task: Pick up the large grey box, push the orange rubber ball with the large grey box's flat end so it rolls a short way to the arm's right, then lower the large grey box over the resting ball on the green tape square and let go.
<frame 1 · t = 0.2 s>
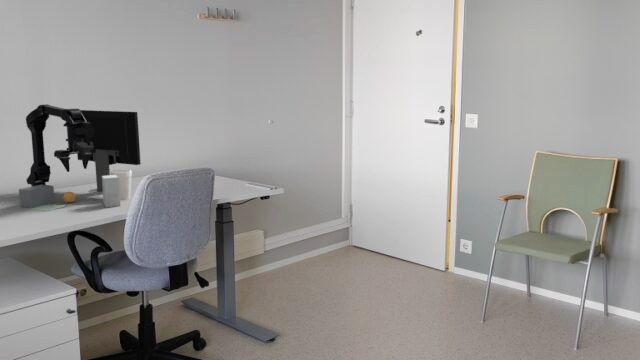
hand: (76, 170, 280), 14 cm above the table, tool pointing down, fingers open, 9 cm apart
large grey box: (37, 204, 276), on the table
tape square: (47, 207, 269), on the table
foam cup: (122, 198, 287), on the table
ball: (69, 197, 279), on the table
computer monitor: (108, 192, 303), on the table
small box: (112, 205, 273), on the table
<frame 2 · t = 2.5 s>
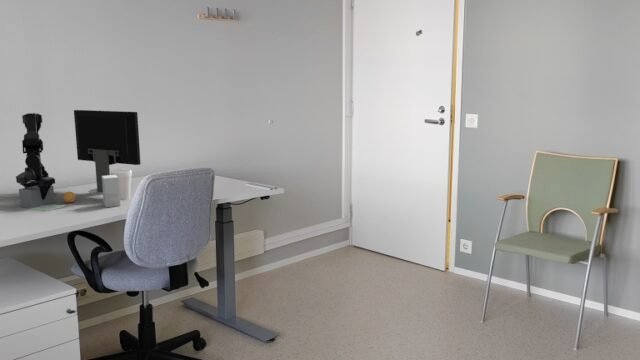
hand: (37, 198, 275), 3 cm above the table, tool pointing down, fingers closed on large grey box, 8 cm apart
large grey box: (37, 204, 276), on the table, touching gripper
everything else where it was.
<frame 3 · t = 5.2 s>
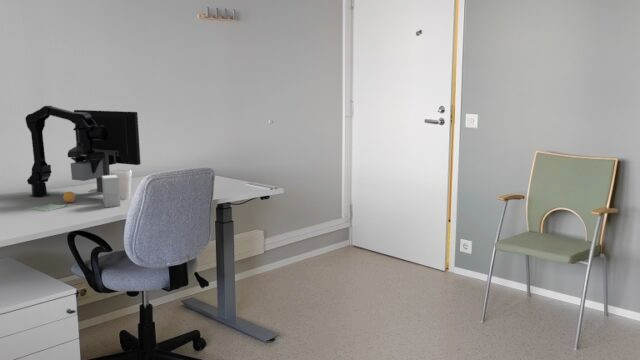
hand: (87, 172, 288), 12 cm above the table, tool pointing down, fingers closed on large grey box, 8 cm apart
large grey box: (87, 178, 288), point 9 cm above the table, touching gripper
everything else where it was.
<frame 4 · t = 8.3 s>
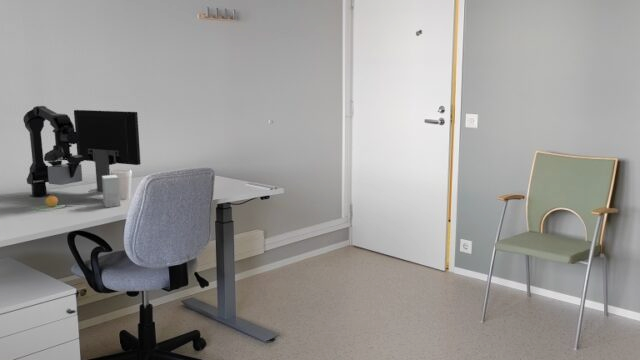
hand: (65, 176, 276), 12 cm above the table, tool pointing down, fingers closed on large grey box, 8 cm apart
large grey box: (65, 182, 276), point 10 cm above the table, touching gripper
ball: (51, 201, 270), on the table
everything else where it was.
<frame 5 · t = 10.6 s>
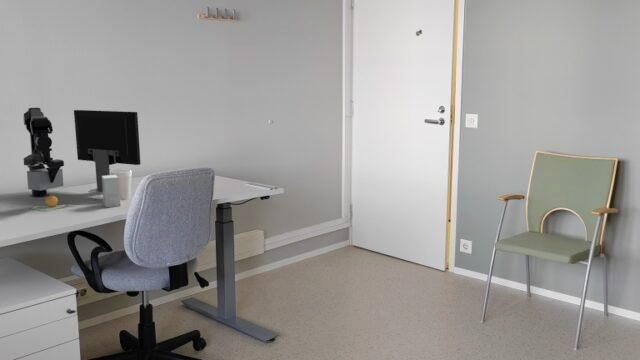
hand: (45, 181, 267), 12 cm above the table, tool pointing down, fingers closed on large grey box, 8 cm apart
large grey box: (46, 187, 267), point 9 cm above the table, touching gripper
everything else where it was.
when the fingers open (3 cm above the table, at t = 12.4 s): large grey box stays where it is, on the table.
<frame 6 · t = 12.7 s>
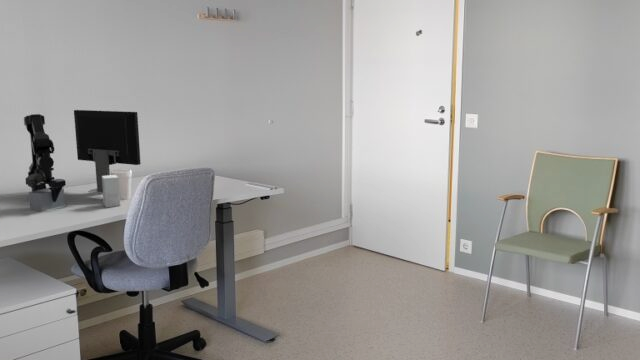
hand: (47, 201, 268), 3 cm above the table, tool pointing down, fingers open, 9 cm apart
large grey box: (47, 207, 269), on the table
everything else where it was.
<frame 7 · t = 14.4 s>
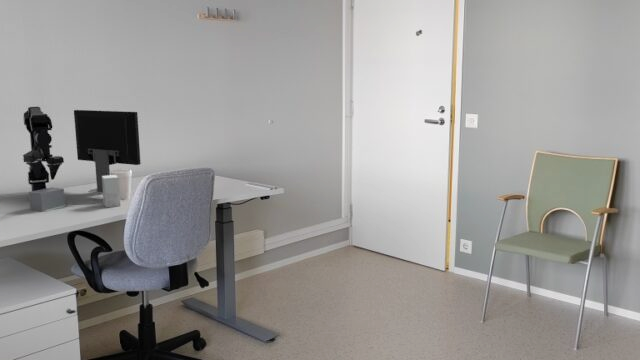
hand: (45, 178, 266), 13 cm above the table, tool pointing down, fingers open, 9 cm apart
nothing on the table moved.
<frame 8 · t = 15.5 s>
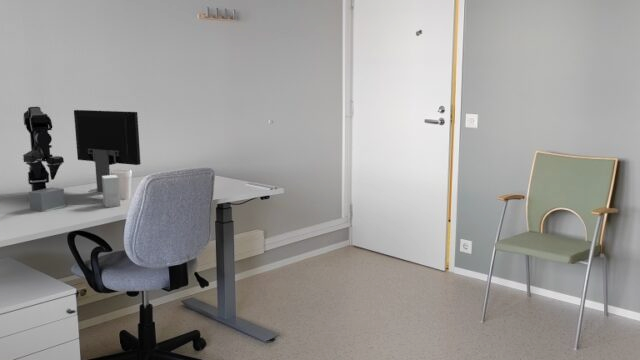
hand: (45, 178, 266), 13 cm above the table, tool pointing down, fingers open, 9 cm apart
nothing on the table moved.
at the end: ball 2.0 cm from the large grey box (horizontally); large grey box on the table; ball moved 10.0 cm from its start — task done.
